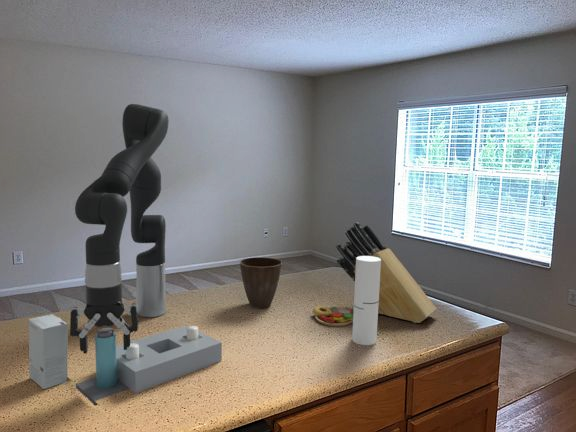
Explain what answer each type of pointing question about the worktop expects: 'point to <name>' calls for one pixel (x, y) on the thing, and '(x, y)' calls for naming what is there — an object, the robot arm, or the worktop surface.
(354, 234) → the knife block
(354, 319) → the cylindrical container
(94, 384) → the mat
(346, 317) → the toy food set
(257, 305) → the plant pot
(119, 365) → the housing
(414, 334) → the worktop surface
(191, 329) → the plunger inner
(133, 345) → the white rounded cylinder
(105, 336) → the cartridge
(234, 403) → the worktop surface
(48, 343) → the skincare box
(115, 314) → the robot arm
